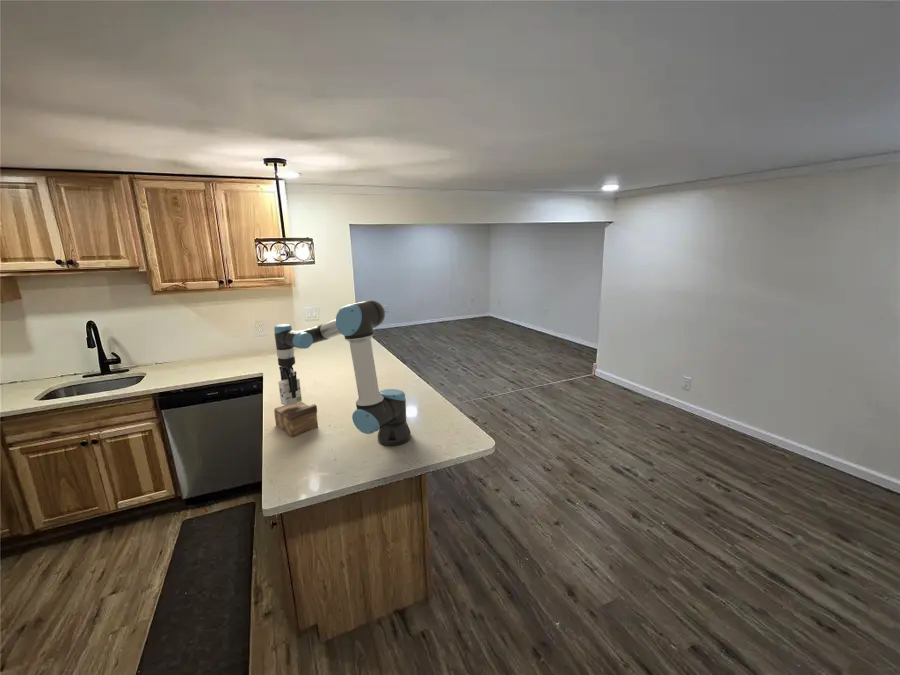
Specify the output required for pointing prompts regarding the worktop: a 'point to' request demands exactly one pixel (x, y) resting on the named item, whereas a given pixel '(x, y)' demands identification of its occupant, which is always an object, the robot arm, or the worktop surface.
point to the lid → (296, 411)
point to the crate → (296, 424)
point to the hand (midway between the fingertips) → (291, 401)
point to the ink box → (285, 393)
